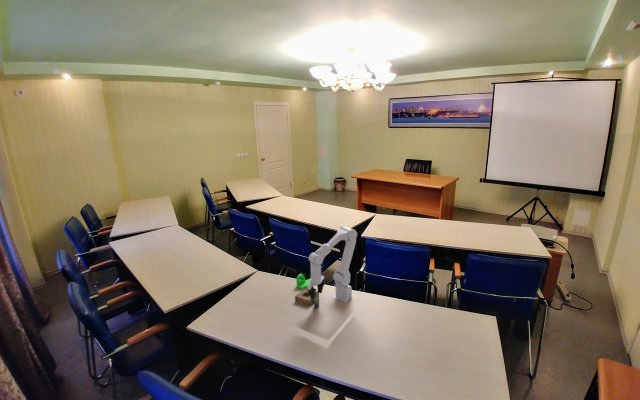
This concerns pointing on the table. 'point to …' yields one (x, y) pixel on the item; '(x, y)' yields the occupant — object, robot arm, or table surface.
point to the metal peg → (316, 300)
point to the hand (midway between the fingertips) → (316, 295)
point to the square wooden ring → (304, 298)
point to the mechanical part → (302, 282)
